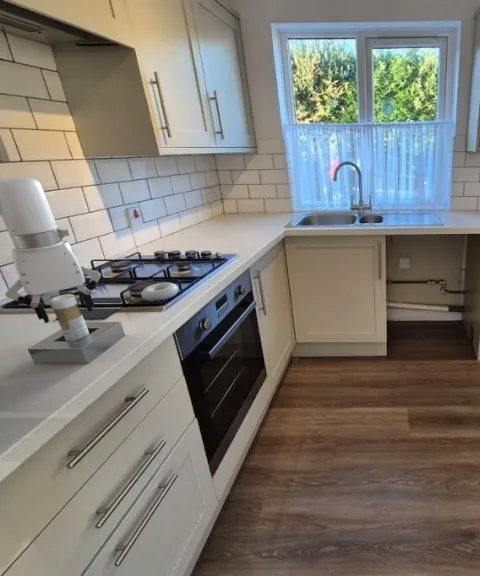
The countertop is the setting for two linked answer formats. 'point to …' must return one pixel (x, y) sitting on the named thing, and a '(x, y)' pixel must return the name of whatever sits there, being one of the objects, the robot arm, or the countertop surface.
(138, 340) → the countertop surface
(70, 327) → the sprinkles bottle
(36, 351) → the stand
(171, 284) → the donut
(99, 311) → the mat
